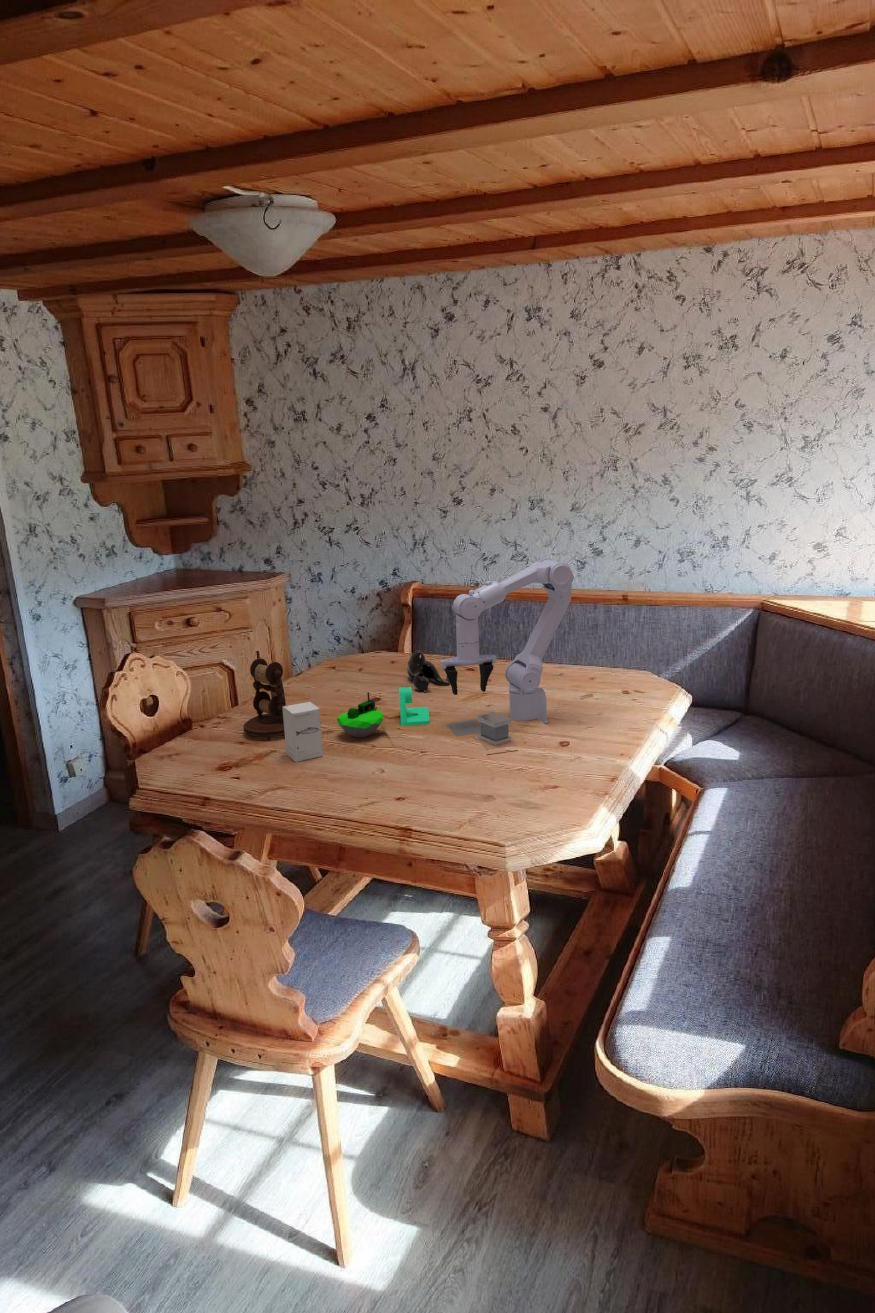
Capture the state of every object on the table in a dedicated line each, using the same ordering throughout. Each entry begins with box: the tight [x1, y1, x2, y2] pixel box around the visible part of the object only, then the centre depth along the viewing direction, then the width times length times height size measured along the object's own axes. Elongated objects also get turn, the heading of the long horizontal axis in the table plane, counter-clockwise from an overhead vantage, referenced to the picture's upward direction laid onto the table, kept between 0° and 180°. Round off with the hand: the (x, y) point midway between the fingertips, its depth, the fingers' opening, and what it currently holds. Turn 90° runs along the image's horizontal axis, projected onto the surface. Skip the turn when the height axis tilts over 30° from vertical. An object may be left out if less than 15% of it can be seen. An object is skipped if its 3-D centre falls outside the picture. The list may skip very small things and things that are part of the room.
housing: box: [477, 711, 512, 747], centre depth 229 cm, size 5×7×6 cm
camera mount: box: [398, 686, 431, 727], centre depth 249 cm, size 12×8×10 cm, turn 3°
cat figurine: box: [406, 649, 451, 694], centre depth 285 cm, size 10×14×18 cm
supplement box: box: [282, 701, 324, 763], centre depth 228 cm, size 7×7×13 cm
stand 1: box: [445, 719, 481, 737], centre depth 240 cm, size 8×10×2 cm
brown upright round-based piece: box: [242, 657, 287, 742], centre depth 245 cm, size 15×15×20 cm
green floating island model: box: [336, 691, 384, 739], centre depth 241 cm, size 12×12×11 cm
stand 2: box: [474, 735, 519, 756], centre depth 230 cm, size 8×10×2 cm
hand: (469, 692), depth 240 cm, fingers open, 7 cm apart
